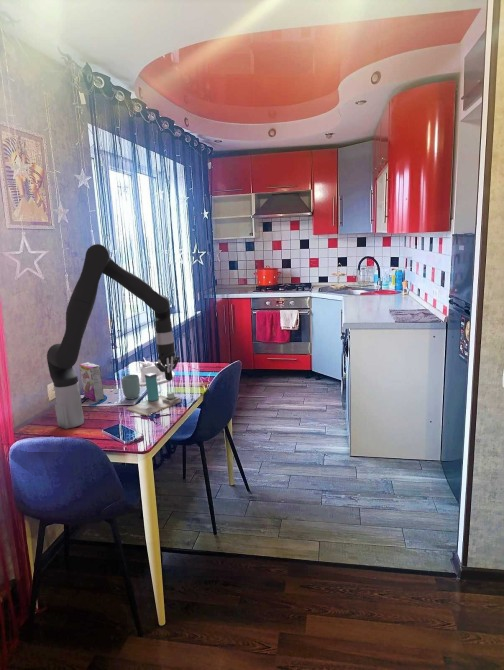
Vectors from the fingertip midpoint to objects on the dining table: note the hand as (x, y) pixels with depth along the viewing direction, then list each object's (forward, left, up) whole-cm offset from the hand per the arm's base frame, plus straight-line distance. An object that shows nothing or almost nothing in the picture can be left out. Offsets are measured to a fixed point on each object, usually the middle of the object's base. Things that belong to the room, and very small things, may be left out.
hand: (169, 380), depth 206 cm
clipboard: (-7, +4, -11) cm, 13 cm away
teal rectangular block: (-4, +8, -10) cm, 13 cm away
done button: (0, 0, -9) cm, 9 cm away
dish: (+19, +38, -11) cm, 44 cm away
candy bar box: (-15, +38, -11) cm, 42 cm away
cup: (-5, +22, -11) cm, 25 cm away
